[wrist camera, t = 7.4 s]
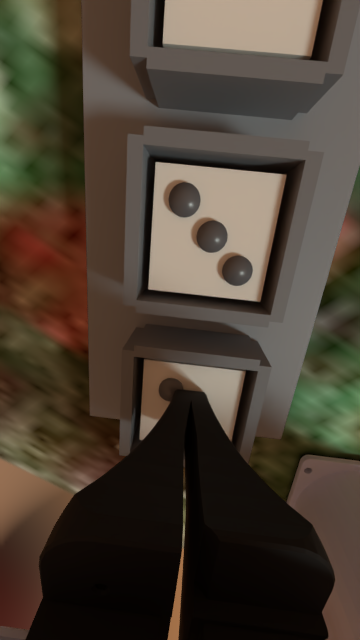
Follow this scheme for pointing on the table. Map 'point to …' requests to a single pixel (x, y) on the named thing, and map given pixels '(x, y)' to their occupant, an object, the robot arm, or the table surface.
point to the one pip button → (243, 26)
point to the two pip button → (172, 375)
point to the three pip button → (213, 230)
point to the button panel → (218, 152)
